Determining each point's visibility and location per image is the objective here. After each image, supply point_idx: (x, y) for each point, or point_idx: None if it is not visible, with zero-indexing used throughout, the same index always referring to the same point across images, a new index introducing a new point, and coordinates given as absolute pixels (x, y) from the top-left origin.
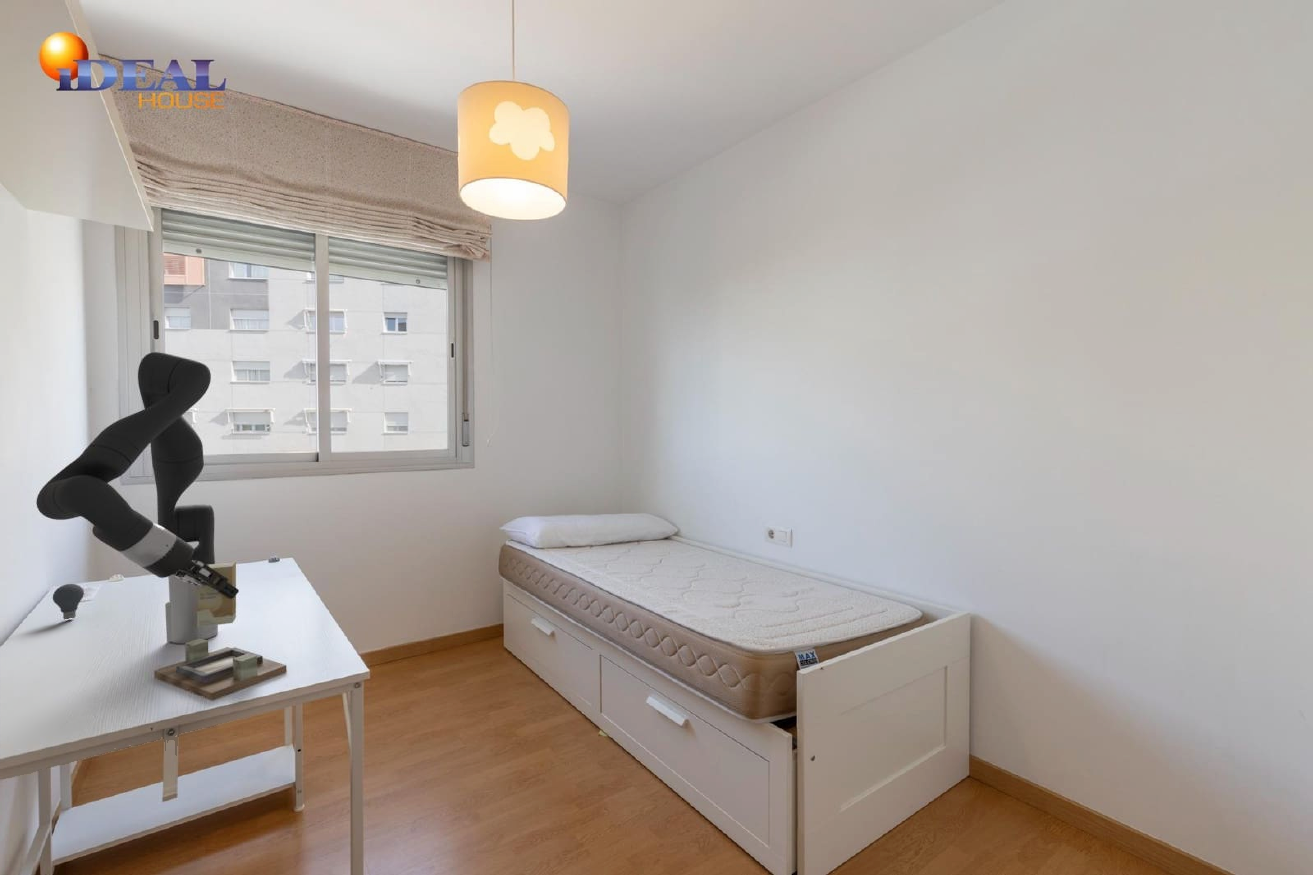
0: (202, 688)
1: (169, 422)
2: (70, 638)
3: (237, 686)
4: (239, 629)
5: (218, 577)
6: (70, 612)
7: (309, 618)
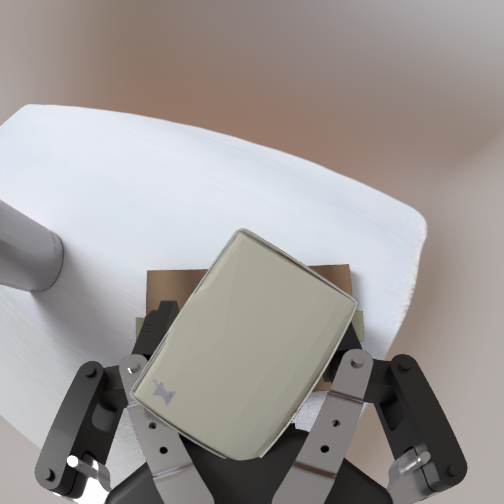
0: (321, 389)
1: None
2: None
3: None
4: (70, 207)
5: (398, 397)
6: None
7: (131, 128)
